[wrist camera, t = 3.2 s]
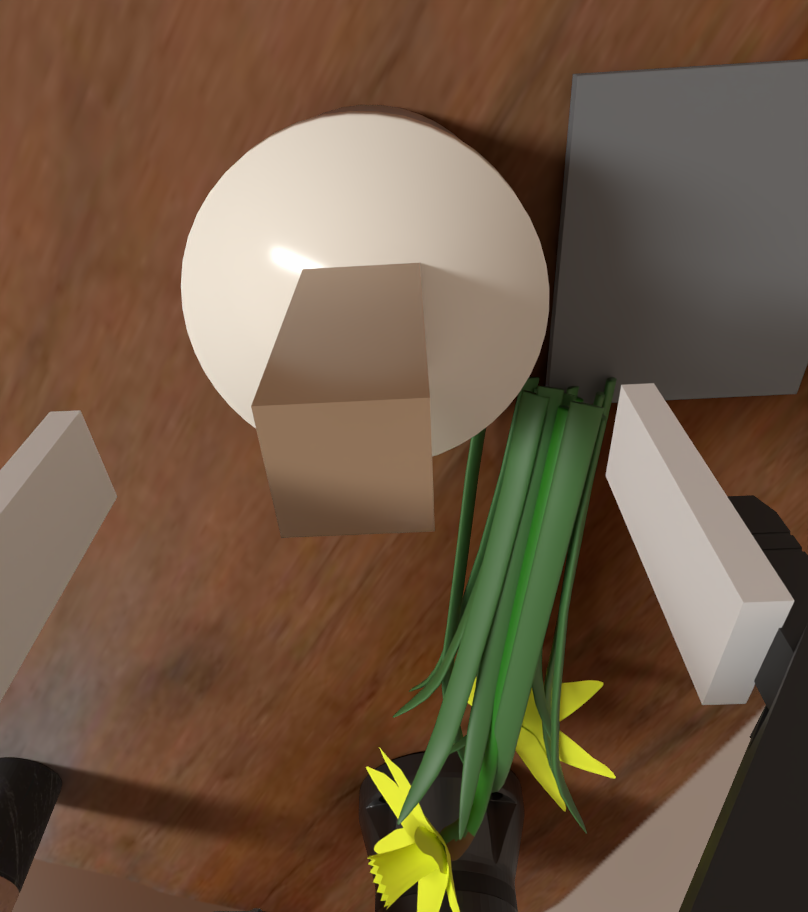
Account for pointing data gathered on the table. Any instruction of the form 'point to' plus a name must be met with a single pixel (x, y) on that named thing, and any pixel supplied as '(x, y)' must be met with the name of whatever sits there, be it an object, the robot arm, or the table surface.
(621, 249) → the mat
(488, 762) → the daffodil flowers
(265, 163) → the lid
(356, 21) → the table surface
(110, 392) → the table surface
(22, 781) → the travel mug
